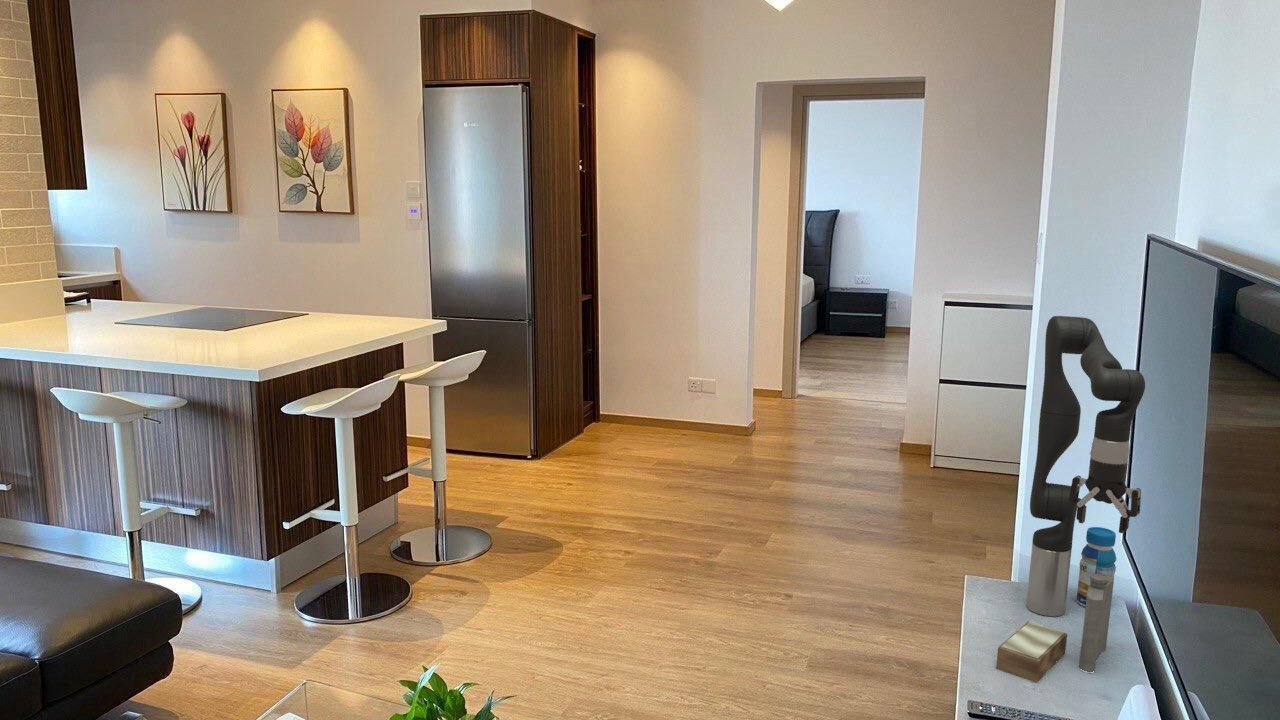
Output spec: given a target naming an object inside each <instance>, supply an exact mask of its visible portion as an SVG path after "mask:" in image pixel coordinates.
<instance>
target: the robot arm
mask: <svg viewBox="0 0 1280 720" xmlns="http://www.w3.org/2000/svg"><path fill="white" fill-rule="evenodd" d="M1046 325H1047V326H1046V330H1045V340H1044V341H1045V344H1044V347H1045V348H1044V375H1043V376H1044V377H1043V378H1044V379H1043V387H1042V396H1041V405H1040V411H1039V423H1038V435H1037V436H1038V437H1037V449H1036V450H1037V451H1036V458H1035V459H1036V460H1035V467H1034V473H1033V478H1032V480H1033V481H1032V485H1031V491H1030V497H1029V499H1030V500H1029V510H1030V511H1029V512H1030V514H1031V516H1032V518H1035V519H1041V520H1048V521H1053V522H1059V523H1057V524H1056V525H1053V526H1050V527H1049V526H1048V527H1044V528H1040V529H1037V530H1035V531H1033V533H1032V534H1033V535H1032V541H1031V542H1032V543H1031V551H1030V552H1031V555H1030V565H1029V574H1028V575H1029V576H1028V583H1027V592H1026V600H1025V601H1026V604H1025V606H1026V608H1027V609H1028V610H1030V611H1031V612H1032V613H1035V614H1038V615H1042V616H1046V617H1059V616H1060V617H1061V616H1063V615H1065V612H1066V605H1067V596H1068V587H1069V578H1070V577H1069V575H1070V567H1071V560H1072V559H1071V557H1072V548H1073V537H1074V530H1075V529H1074V527H1075V524H1076V523H1075V521H1076V520H1077V521H1078V523H1079V524H1084V523H1085V521H1086V513H1087V505H1086V504H1087V503H1089V501H1091V500H1093V499H1094V500H1095V502H1103V503H1105V504H1109V505H1111V504H1113V505H1114V507H1115V508H1116V510H1117V511H1118V512H1119V514H1120V515H1121V516H1120V520H1119V527H1118V533H1120V534H1123V533H1125V532H1126V531H1128V529H1129V527H1130V526H1129V525H1130V518H1131V517H1133V518H1135V517H1137V516H1138V515H1140V513H1141V499H1142V498H1141V497H1142V490H1141V488H1139V487H1136V488H1130V487H1127V485H1126V482H1127V475H1128V467H1129V466H1128V464H1129V458H1130V456H1129V455H1130V437H1131V428H1132V422H1133V419H1134V417H1135V414H1136V412H1137V409H1138V406H1139V405H1140V402H1141V401H1142V398H1143V396H1144V394H1145V390H1146V381H1145V377H1144V375H1143V374H1142V373H1141V372H1140V371H1138V370H1136V369H1128V368H1127V369H1126V368H1125V369H1123V366H1122V365H1121V363H1120V361H1119V360H1118V359H1117V358H1116V357H1115V356H1114V355H1113V354H1112V353H1111V352H1110V351H1109V349H1108V347H1107V346H1106V344H1105V340H1104V338H1103V336H1102V334H1101V332H1100V330H1099V328H1098V326H1097V324H1096V323H1095V322H1094V321H1093V320H1092V319H1091V318H1088V317H1084V316H1083V317H1082V316H1080V317H1079V316H1065V315H1054V316H1052V317H1051V318H1050V319H1049V320H1048V322H1047V324H1046ZM1063 354H1067V355H1069V354H1070V355H1081V356H1080V360H1079V361H1080V367H1081V369H1082V371H1083V373H1085V374H1086V376H1087V377H1088V378H1089V380H1090V381H1089V382H1090V391H1091V394H1092V396H1093V397H1094V398H1096V399H1098V400H1100V401H1105V402H1107V401H1108V402H1119V403H1118V404H1117V406H1115V407H1113V408H1110V409H1105V410H1100V411H1098V412H1097V414H1096V418H1095V422H1094V423H1095V426H1094V432H1093V433H1094V434H1093V439H1092V443H1091V449H1090V453H1089V455H1090V456H1089V457H1090V458H1089V467H1088V476H1087V478H1084V477H1082V476H1081V475H1076V476H1074V477H1073V478H1072V480H1071V485H1068V484H1059V483H1052V482H1051V483H1050V482H1047V479H1048V476H1049V475H1050V472H1051V470H1052V469H1053V467H1054V466H1055V464H1056V462H1057V461H1058V460H1059V459H1060V458H1061V456H1062V455H1063V454H1064V453H1065V452H1066V450H1068V449H1069V447H1070V446H1072V445H1073V443H1074V442H1075V441H1076V439H1077V437H1078V436H1079V432H1080V422H1081V413H1082V410H1081V404H1080V402H1079V399H1078V398H1077V395H1076V394H1075V392H1074V390H1073V388H1072V386H1071V385H1070V383H1069V381H1068V380H1067V377H1066V375H1065V374H1066V373H1065V372H1064V368H1063ZM1084 485H1085V487H1086V489H1087V490H1088V493H1087V494H1086V495H1085V496H1083V497H1082V498H1080V497H1079V495H1080V489H1081V488H1082V487H1084ZM1125 494H1126V495H1127V496H1128V498H1129V499H1130V505H1131V506H1130V509H1129V507H1128V505H1127V502H1126V501H1125V498H1124V497H1123V496H1124V495H1125Z"/></svg>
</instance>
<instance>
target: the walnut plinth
mask: <svg viewBox="0 0 1280 720" xmlns="http://www.w3.org/2000/svg"><path fill="white" fill-rule="evenodd" d="M1067 638H1068V633H1066V632H1064V631H1061V630H1058V629H1055V628H1053V627H1052V628H1051V627H1049V626H1045V625H1042V624H1039V623H1036V622H1033V621H1030V620H1029V621H1028V620H1027V622H1026V623H1025V624H1023V625H1022V626H1021V627H1020V628H1018V629H1017V630H1016V631H1015V632H1014V633H1013V634H1012V635H1011V636H1009V637H1008V638H1007V639H1006V640H1005V641H1004V642H1003V643H1002V644H1000V645H999V646H998V647H997V655H996V665H995V666H996V667H995V668H996V669H998V670H1000V671H1003V672H1006V673H1009V674H1012V675H1015V676H1018V677H1020V678H1024V679H1026V680H1029V681H1031V682H1035V683H1038V682H1039V680H1041V679H1042V678H1043V677H1044V676H1045V675H1046V674H1047V673H1048V672H1049V671H1050V670H1051V669H1052V667H1054V665H1056V664H1057V662H1059V660H1060V659H1062V657H1064V655H1066V649H1067ZM1056 661H1057V662H1056ZM1049 669H1050V670H1049ZM1048 670H1049V671H1048ZM1047 671H1048V672H1047ZM1046 672H1047V673H1046ZM1045 673H1046V674H1045ZM1044 674H1045V675H1044Z"/></svg>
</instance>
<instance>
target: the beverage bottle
mask: <svg viewBox="0 0 1280 720" xmlns="http://www.w3.org/2000/svg"><path fill="white" fill-rule="evenodd" d="M1116 535H1117V534H1116V532H1115V531H1113V530H1112V529H1109V528H1106V527H1101V526H1091V527H1088V528H1087V530H1086V537H1085V541H1086V545H1084V547H1083V549H1082V551H1081V553H1080V555H1081V559H1080V560H1079V572H1078V573H1079V574H1078V581H1077V583H1078V584H1077V591H1076V602H1077V603H1078V604H1079V605H1081V606H1083V607H1085V608H1086V599H1087V591H1088V588H1089V586H1090V581H1091V580H1090V575H1091V574H1100V575H1103V576H1109V577H1111V578H1113V579H1114V578H1115V573H1116V571H1117V570H1116V569H1117V567H1116V562H1117V554H1116V552H1115V550H1114V548H1113V547H1114V546H1115V544H1116V539H1117V538H1116V537H1117V536H1116ZM1114 580H1115V579H1114Z"/></svg>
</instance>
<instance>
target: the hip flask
mask: <svg viewBox="0 0 1280 720" xmlns="http://www.w3.org/2000/svg"><path fill="white" fill-rule="evenodd" d="M1090 580H1091V581H1090V586H1089V588H1088V591H1087V599H1086V607H1085V610H1084V619H1083V627H1082V634H1081V635H1082V636H1081V646H1080V655H1079V662H1078V669H1079V668H1080V669H1082V670H1084V671H1087V672H1093V671H1096V663H1097V661H1098V658H1100V656H1101V655H1102V654H1101V653H1102V652H1103V653H1104V652H1105V651H1106V649H1107V641H1108V634H1109V626H1110V625H1109V624H1110V619H1111V618H1110V616H1111V607H1112V599H1113V592H1114V582H1115V579H1113V578H1111V577H1109V576H1103V575H1100V574H1091V575H1090ZM1100 654H1101V655H1100ZM1099 655H1100V656H1099ZM1096 660H1097V661H1096ZM1080 669H1079V670H1080Z"/></svg>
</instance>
